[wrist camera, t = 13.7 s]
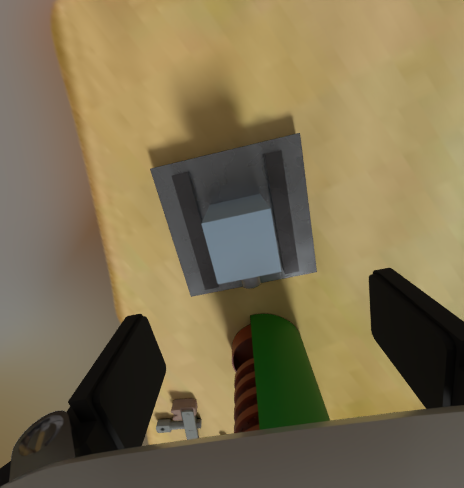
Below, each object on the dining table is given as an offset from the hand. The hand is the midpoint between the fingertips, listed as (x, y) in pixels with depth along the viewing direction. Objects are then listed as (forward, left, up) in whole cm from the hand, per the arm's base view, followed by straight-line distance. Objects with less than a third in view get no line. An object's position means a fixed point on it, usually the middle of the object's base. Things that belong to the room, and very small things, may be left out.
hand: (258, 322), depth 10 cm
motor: (0, +17, -17) cm, 24 cm away
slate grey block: (0, 0, -16) cm, 16 cm away
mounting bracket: (0, 0, -17) cm, 17 cm away
